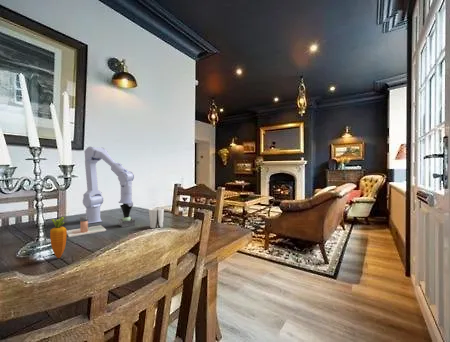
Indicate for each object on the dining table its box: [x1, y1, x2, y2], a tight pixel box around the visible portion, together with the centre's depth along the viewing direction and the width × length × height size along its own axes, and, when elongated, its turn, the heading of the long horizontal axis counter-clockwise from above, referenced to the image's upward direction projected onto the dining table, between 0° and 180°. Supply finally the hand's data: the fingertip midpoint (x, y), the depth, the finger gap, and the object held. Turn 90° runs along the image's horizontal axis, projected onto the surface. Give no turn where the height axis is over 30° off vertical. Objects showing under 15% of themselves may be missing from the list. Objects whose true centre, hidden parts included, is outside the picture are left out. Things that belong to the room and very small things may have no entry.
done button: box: [121, 215, 132, 221], centre depth 128 cm, size 4×4×4 cm
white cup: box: [148, 207, 165, 229], centre depth 125 cm, size 8×8×10 cm
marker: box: [79, 216, 89, 233], centre depth 113 cm, size 3×3×7 cm
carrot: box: [49, 216, 68, 259], centre depth 83 cm, size 5×5×15 cm
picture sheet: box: [66, 224, 107, 238], centre depth 116 cm, size 11×16×1 cm
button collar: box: [117, 217, 136, 228], centre depth 128 cm, size 7×7×3 cm
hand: (126, 217), depth 128 cm, fingers closed, pressing on done button
